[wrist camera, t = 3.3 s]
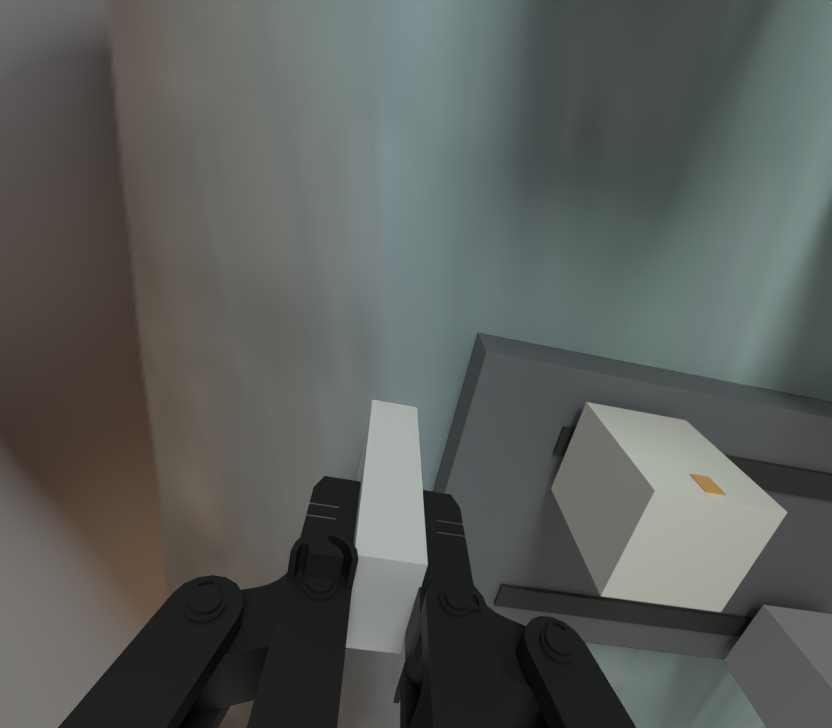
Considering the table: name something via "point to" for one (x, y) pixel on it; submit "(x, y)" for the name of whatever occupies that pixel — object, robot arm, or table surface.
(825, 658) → the fader
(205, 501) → the table surface
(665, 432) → the block
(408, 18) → the table surface
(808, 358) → the table surface
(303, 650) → the robot arm
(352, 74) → the table surface
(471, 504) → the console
